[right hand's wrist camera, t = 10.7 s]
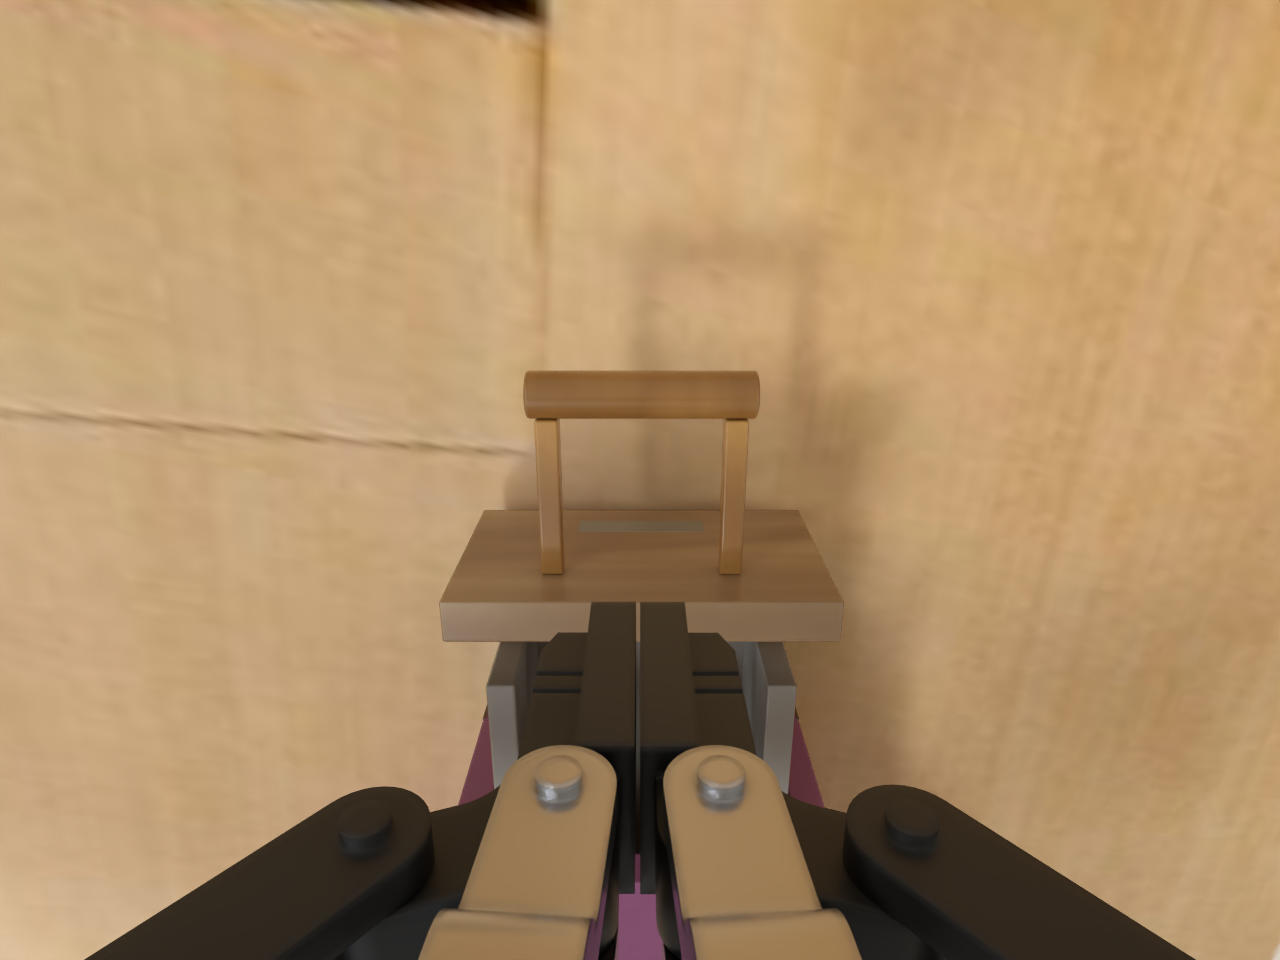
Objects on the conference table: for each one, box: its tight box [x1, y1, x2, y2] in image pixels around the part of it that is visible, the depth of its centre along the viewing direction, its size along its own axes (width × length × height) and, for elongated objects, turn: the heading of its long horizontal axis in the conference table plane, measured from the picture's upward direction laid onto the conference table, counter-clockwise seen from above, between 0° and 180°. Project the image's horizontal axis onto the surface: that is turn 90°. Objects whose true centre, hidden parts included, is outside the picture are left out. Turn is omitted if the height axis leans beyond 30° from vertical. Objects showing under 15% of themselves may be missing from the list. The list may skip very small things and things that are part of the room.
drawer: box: [439, 371, 844, 854], centre depth 26 cm, size 25×10×6 cm, turn 0°
